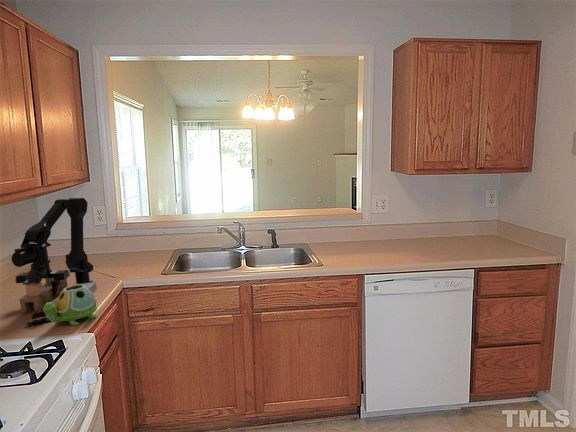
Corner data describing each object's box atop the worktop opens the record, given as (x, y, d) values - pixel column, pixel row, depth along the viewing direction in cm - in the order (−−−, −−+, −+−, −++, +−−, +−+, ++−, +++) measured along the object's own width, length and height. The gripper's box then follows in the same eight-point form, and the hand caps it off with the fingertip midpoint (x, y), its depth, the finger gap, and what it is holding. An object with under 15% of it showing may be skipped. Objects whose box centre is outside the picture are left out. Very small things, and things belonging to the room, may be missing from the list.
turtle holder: (37, 326, 150) (32, 294, 148) (87, 309, 164) (83, 279, 162) (54, 334, 143) (49, 300, 141) (105, 315, 157) (101, 284, 155)
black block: (58, 316, 160) (57, 304, 159) (60, 322, 154) (58, 310, 153) (19, 324, 153) (17, 312, 153) (19, 331, 147) (17, 319, 147)
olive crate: (50, 280, 182) (49, 271, 181) (60, 280, 182) (59, 271, 181) (46, 284, 178) (44, 274, 177) (55, 283, 178) (54, 274, 177)
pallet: (52, 289, 185) (51, 278, 185) (67, 289, 186) (66, 278, 185) (21, 311, 162) (19, 299, 161) (38, 310, 162) (36, 298, 161)
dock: (75, 290, 187) (74, 283, 186) (96, 288, 187) (95, 282, 187) (48, 312, 162) (47, 304, 162) (73, 311, 163) (72, 303, 162)
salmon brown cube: (32, 292, 168) (31, 282, 167) (43, 292, 168) (41, 282, 167) (27, 296, 164) (25, 286, 163) (37, 295, 164) (36, 285, 163)
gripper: (4, 266, 162) (10, 305, 165) (55, 263, 164) (60, 302, 166) (20, 259, 173) (26, 295, 176) (67, 256, 174) (72, 292, 177)
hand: (45, 296), depth 174 cm, fingers closed on pallet, 6 cm apart
